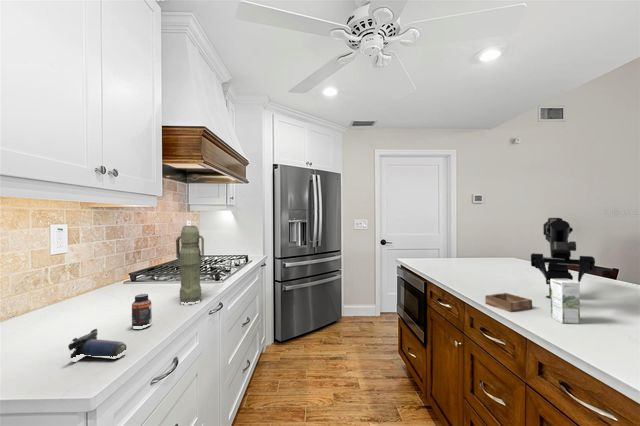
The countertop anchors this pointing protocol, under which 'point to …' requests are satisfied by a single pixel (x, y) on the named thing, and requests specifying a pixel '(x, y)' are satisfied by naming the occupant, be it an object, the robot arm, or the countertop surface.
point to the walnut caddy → (508, 302)
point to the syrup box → (565, 301)
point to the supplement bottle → (141, 310)
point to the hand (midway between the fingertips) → (562, 279)
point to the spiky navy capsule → (95, 346)
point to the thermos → (190, 263)
